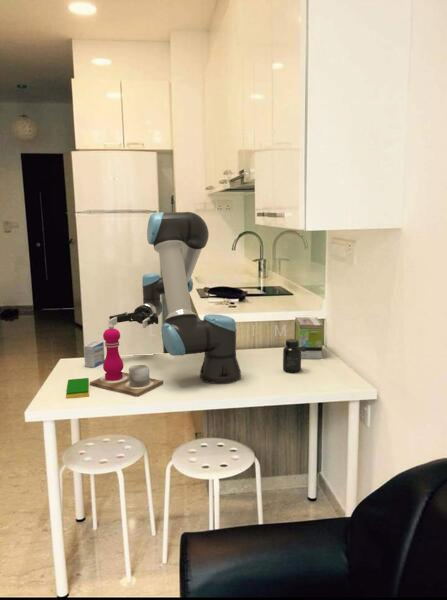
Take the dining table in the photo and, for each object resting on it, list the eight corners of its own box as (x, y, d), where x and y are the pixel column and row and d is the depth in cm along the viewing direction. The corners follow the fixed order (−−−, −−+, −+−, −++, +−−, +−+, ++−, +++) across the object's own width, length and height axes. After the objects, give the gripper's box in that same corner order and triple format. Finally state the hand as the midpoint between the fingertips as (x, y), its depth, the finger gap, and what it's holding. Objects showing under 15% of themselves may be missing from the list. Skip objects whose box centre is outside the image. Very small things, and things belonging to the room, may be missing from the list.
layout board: (163, 384, 181) (162, 364, 180) (137, 396, 169) (136, 376, 168) (117, 374, 192) (116, 355, 191) (89, 385, 181) (88, 365, 179)
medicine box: (94, 368, 200) (93, 346, 198) (84, 367, 201) (83, 346, 200) (105, 362, 207) (103, 341, 206) (95, 361, 209) (94, 340, 207)
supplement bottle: (285, 367, 199) (285, 337, 197) (302, 369, 197) (303, 339, 194) (280, 372, 193) (281, 342, 191) (298, 374, 190) (299, 343, 188)
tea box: (322, 359, 209) (323, 324, 206) (298, 359, 209) (299, 324, 206) (316, 349, 224) (317, 316, 221) (293, 349, 224) (294, 316, 221)
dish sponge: (89, 383, 183) (88, 377, 183) (88, 397, 170) (88, 390, 170) (68, 385, 182) (68, 379, 181) (66, 399, 169) (66, 392, 168)
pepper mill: (119, 382, 180) (116, 327, 176) (100, 380, 181) (97, 326, 177) (127, 375, 187) (124, 322, 183) (108, 374, 188) (106, 321, 184)
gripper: (173, 322, 212) (158, 334, 191) (117, 321, 216) (96, 332, 196) (173, 305, 211) (157, 315, 190) (116, 304, 215) (95, 313, 194)
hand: (126, 324), depth 193 cm, fingers open, 13 cm apart
